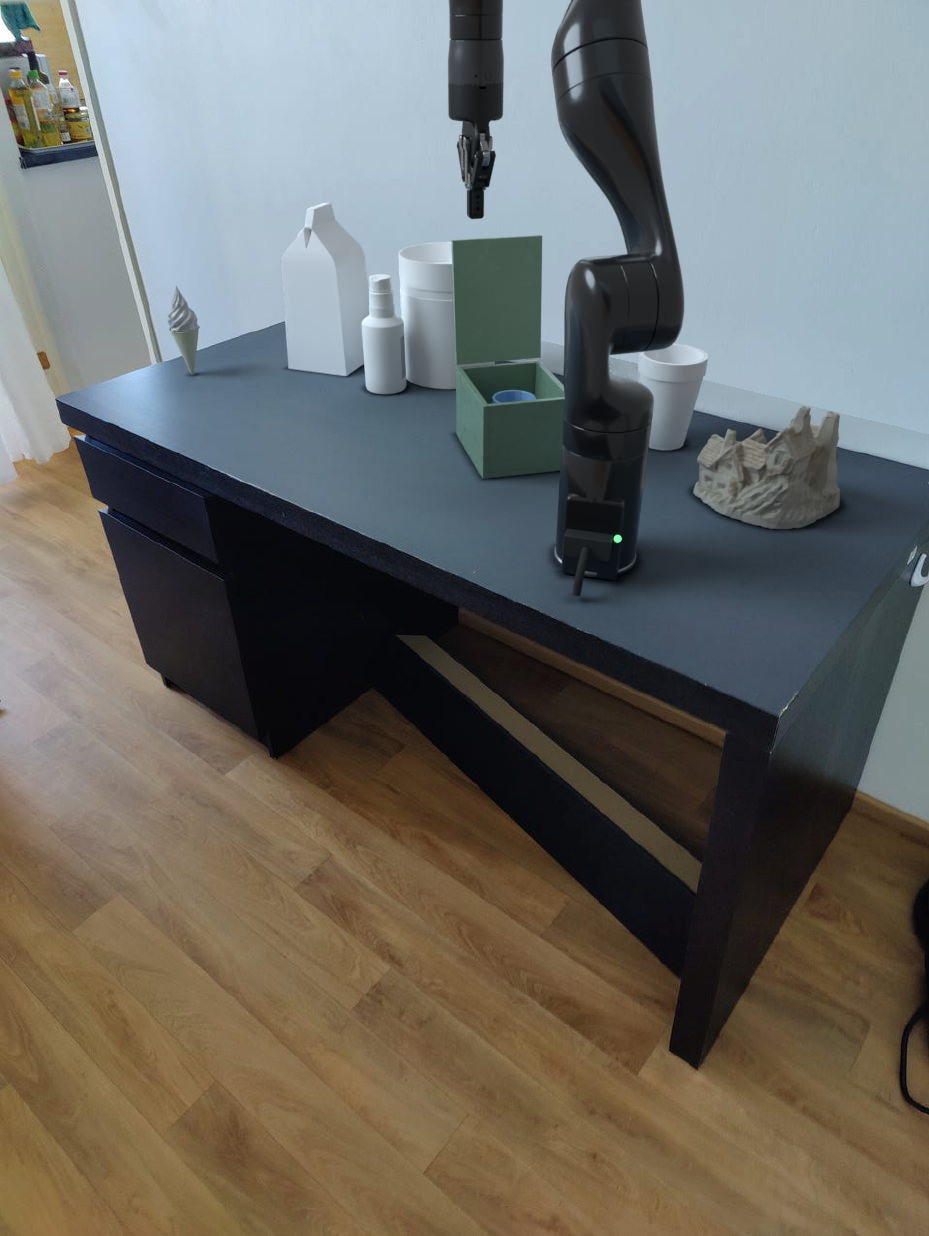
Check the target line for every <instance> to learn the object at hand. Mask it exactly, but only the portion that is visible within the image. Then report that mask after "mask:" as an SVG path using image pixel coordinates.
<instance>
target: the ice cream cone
mask: <svg viewBox="0 0 929 1236" xmlns="http://www.w3.org/2000/svg"><path fill="white" fill-rule="evenodd" d="M167 317H168V319H167V324H168V326H169V328H168V330H169V332H170V333H171V335H172V338H173V339H174V342H175V344H176V346H177V348H178V350H179V352H180V354H181V356H182V358H183V361H184V362H185V364H186V367H187V369H188V371H189V373H190V375H191V376H195V371H196V360H197V353H198V342H199V330H200V325H198V316H197V314H196V313H195V311H194V310H192V308H190V307H189V304H188V301H187V300H186V298H185V297H184V295H183V294H182V293H181V290H180V289H179V287H178V286H177V285H176V286H175V291H174V295H173V299H172V301H171V309H170V312H169V313H168V314H167Z"/></svg>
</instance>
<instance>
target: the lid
mask: <svg viewBox="0 0 929 1236" xmlns="http://www.w3.org/2000/svg"><path fill="white" fill-rule="evenodd" d="M450 242H451V247H452V278H453V309H454V341H455V364H456V365H460V364H472V363H484V362H495V363H496V362H507V361H508V362H509V361H517V360H518V361H519V360H530V359H532V360H533V359H541V356H542V355H541V354H542V353H541V352H542V295H543V294H542V292H543V291H542V290H543V289H542V287H543V285H542V284H543V283H542V282H543V281H542V280H543V277H542V276H543V235H542V234H537V235H536V234H535V235H518V236H517V235H516V236H502V237H485V238H484V237H483V238H482V237H481V238H464V239H463V238H462V239H451V240H450Z"/></svg>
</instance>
